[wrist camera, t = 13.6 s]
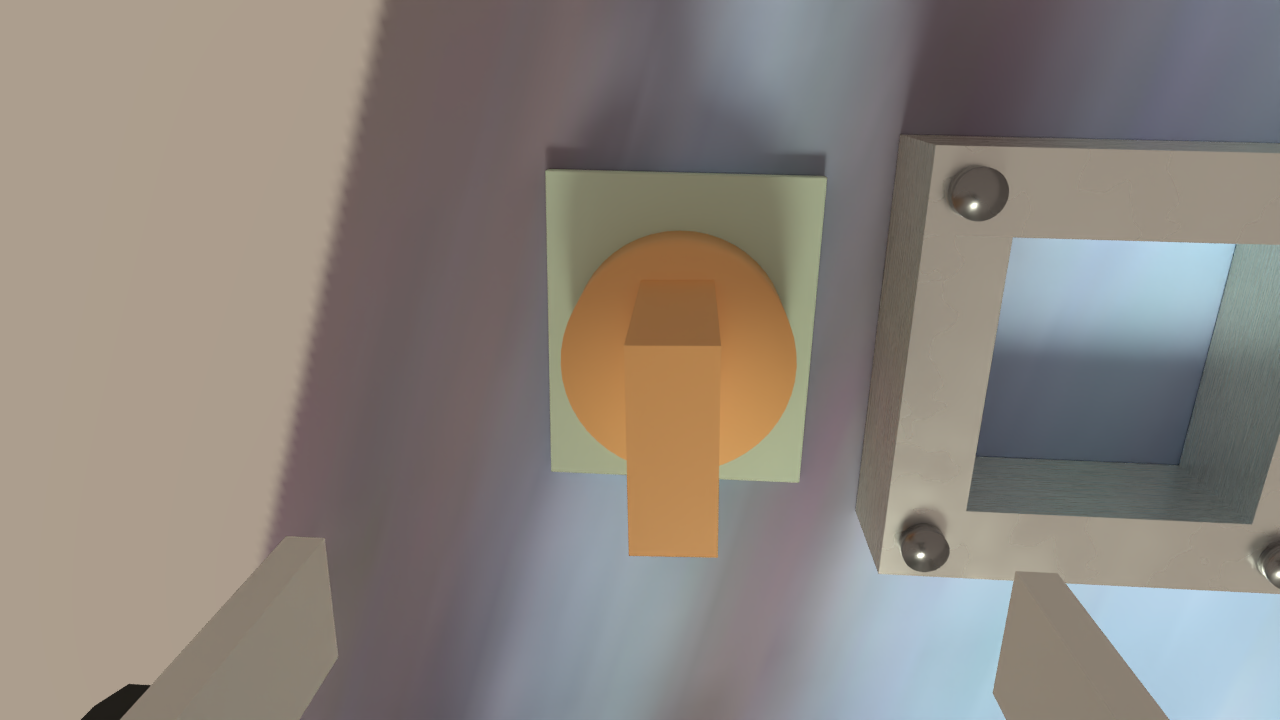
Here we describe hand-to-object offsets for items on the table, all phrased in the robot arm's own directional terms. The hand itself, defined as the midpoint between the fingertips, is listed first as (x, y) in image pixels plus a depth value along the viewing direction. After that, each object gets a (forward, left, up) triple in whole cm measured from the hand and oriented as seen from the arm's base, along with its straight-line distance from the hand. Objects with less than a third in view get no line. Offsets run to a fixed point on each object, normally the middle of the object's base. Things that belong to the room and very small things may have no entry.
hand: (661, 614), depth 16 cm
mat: (0, 0, -17) cm, 17 cm away
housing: (0, -15, -17) cm, 23 cm away
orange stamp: (0, 0, -17) cm, 17 cm away
